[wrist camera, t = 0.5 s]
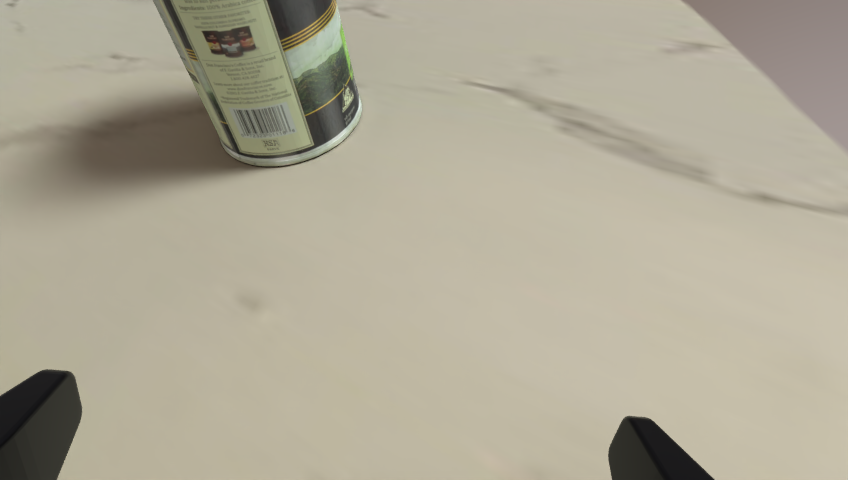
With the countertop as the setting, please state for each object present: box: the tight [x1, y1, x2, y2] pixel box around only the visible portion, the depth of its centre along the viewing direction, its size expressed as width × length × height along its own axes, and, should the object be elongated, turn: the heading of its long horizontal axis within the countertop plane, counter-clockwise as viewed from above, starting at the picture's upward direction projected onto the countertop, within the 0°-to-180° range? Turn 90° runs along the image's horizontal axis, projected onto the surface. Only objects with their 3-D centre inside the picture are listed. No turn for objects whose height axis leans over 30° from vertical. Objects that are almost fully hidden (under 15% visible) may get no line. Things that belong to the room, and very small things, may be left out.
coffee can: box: [153, 0, 362, 166], centre depth 35 cm, size 10×10×14 cm
